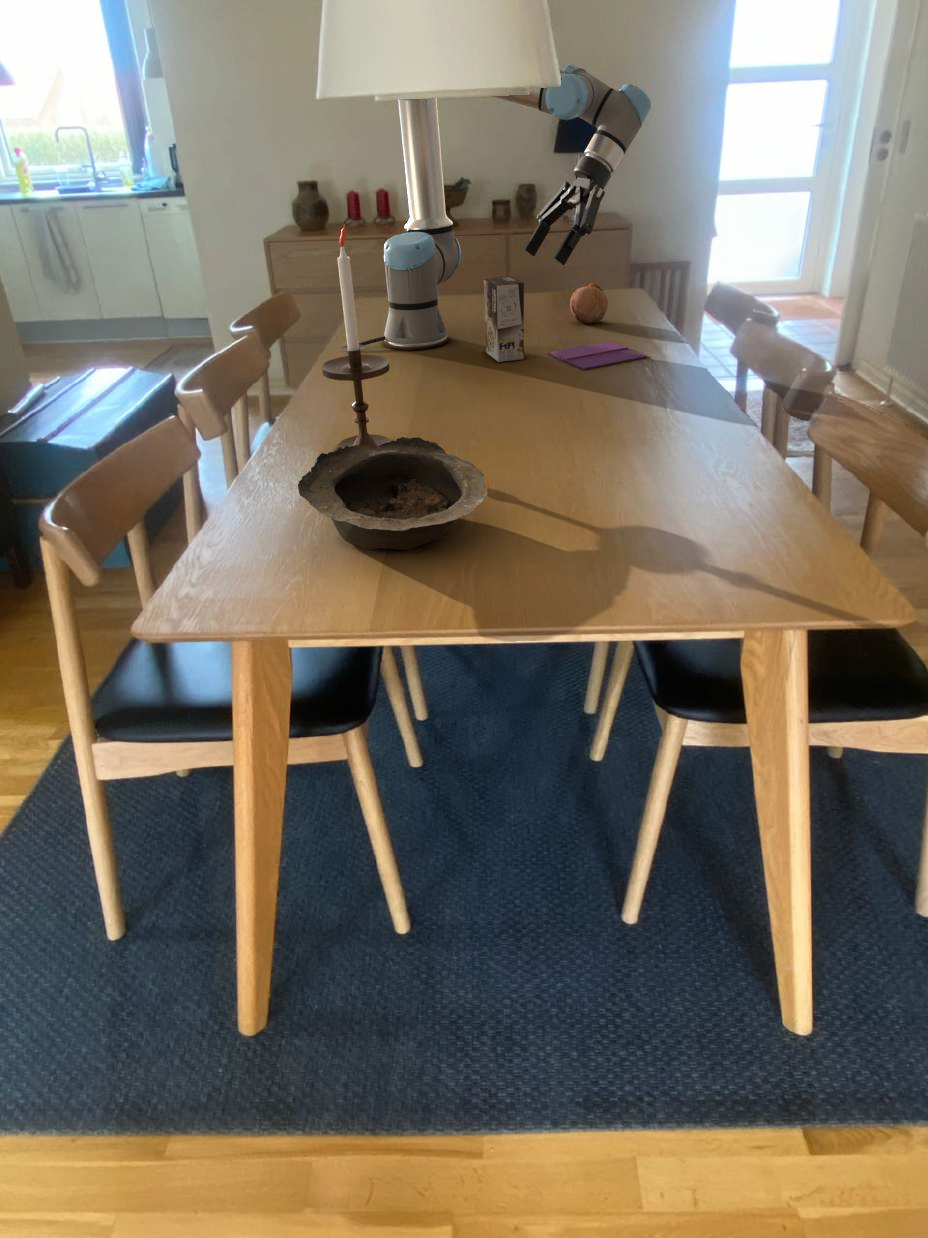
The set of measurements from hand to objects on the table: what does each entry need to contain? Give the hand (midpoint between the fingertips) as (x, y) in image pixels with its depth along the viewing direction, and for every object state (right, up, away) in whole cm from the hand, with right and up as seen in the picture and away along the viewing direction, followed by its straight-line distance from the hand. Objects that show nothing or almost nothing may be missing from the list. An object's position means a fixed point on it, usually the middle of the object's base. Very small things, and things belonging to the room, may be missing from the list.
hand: (543, 257), depth 179 cm
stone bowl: (-26, -66, -65) cm, 96 cm away
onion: (+14, -4, +28) cm, 32 cm away
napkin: (+12, -21, +2) cm, 24 cm away
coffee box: (-8, -20, +6) cm, 22 cm away
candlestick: (-34, -50, -39) cm, 72 cm away
